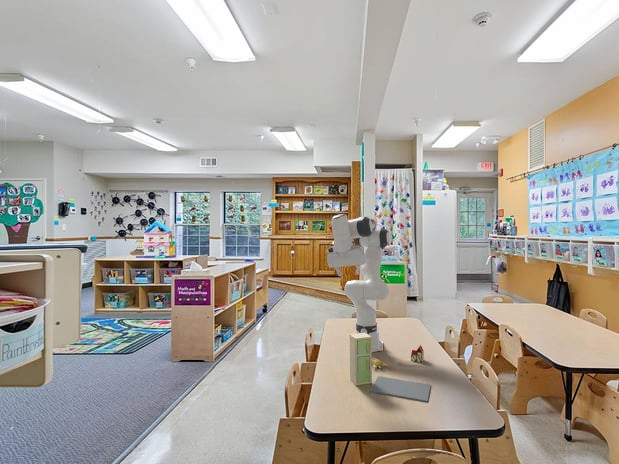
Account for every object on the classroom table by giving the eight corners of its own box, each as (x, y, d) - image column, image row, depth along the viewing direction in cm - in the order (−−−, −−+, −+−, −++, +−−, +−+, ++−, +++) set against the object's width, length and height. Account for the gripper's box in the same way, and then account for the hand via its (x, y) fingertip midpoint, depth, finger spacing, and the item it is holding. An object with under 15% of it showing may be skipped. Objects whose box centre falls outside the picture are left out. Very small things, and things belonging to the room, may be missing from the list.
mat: (378, 377, 163) (378, 376, 163) (430, 385, 154) (430, 384, 154) (369, 391, 149) (369, 390, 149) (427, 402, 140) (427, 400, 140)
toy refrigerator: (356, 386, 154) (355, 338, 154) (349, 379, 161) (349, 333, 161) (372, 384, 156) (372, 337, 156) (365, 377, 163) (365, 332, 163)
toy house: (425, 363, 181) (424, 347, 181) (411, 362, 183) (411, 347, 183) (423, 359, 187) (423, 344, 187) (410, 358, 188) (410, 343, 188)
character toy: (375, 364, 171) (367, 358, 178) (375, 371, 171) (367, 365, 178) (389, 362, 173) (381, 356, 181) (389, 368, 173) (381, 363, 181)
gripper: (366, 244, 169) (370, 272, 169) (330, 248, 181) (334, 275, 181) (359, 245, 164) (364, 275, 164) (323, 250, 176) (328, 277, 176)
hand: (348, 275), depth 173 cm, fingers open, 8 cm apart
